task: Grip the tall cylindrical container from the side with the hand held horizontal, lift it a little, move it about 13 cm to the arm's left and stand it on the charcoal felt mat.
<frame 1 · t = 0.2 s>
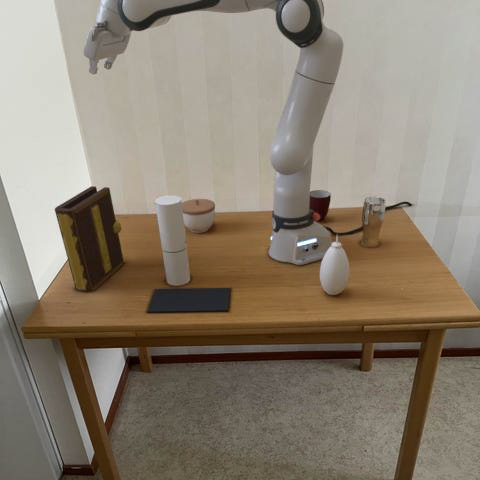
hand: (100, 70, 141), 54 cm above the table, tool tilted 30°, fingers open, 8 cm apart
beer glass: (369, 244, 163), on the table
cylindrical container: (178, 280, 148), on the table
felt mat: (190, 300, 138), on the table
mug: (314, 220, 181), on the table
book: (102, 274, 153), on the table
lidded bowl: (199, 229, 179), on the table
white bulb air blower: (332, 293, 138), on the table
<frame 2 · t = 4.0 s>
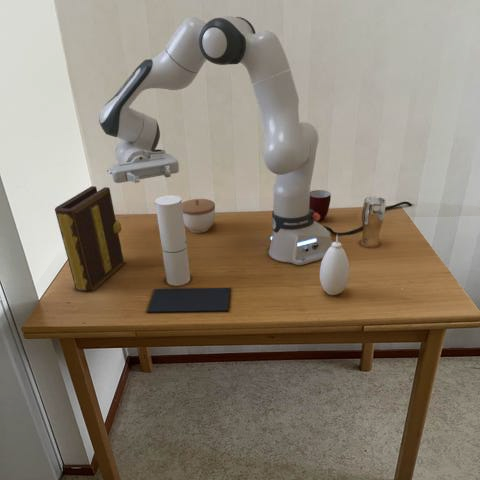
hand: (152, 177, 141), 28 cm above the table, tool horizontal, fingers open, 8 cm apart
nothing on the table moved.
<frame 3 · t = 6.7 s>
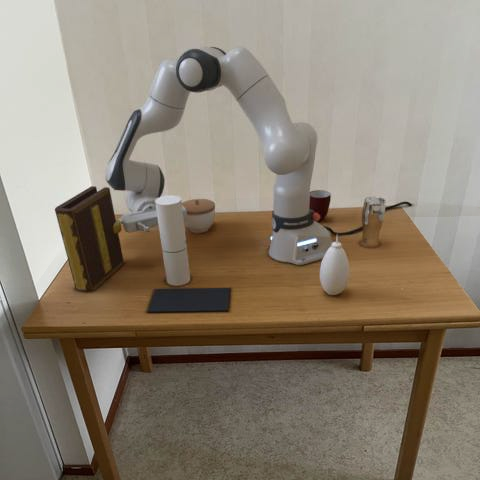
hand: (162, 226, 148), 14 cm above the table, tool horizontal, fingers open, 8 cm apart
nothing on the table moved.
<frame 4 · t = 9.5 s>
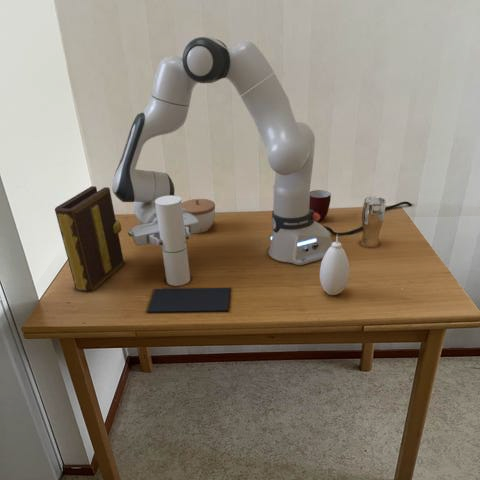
hand: (174, 239, 140), 14 cm above the table, tool horizontal, fingers closed on cylindrical container, 7 cm apart
cylindrical container: (178, 280, 148), on the table, touching gripper
everything else where it was.
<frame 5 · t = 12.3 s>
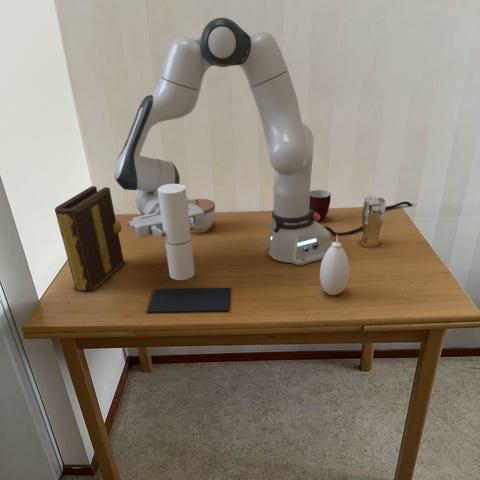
hand: (178, 231, 131), 19 cm above the table, tool horizontal, fingers closed on cylindrical container, 7 cm apart
cylindrical container: (182, 274, 140), point 5 cm above the table, touching gripper
everything else where it was.
when the fingers open (14 cm above the table, at t = 15.4 s): cylindrical container stays where it is, resting on felt mat.
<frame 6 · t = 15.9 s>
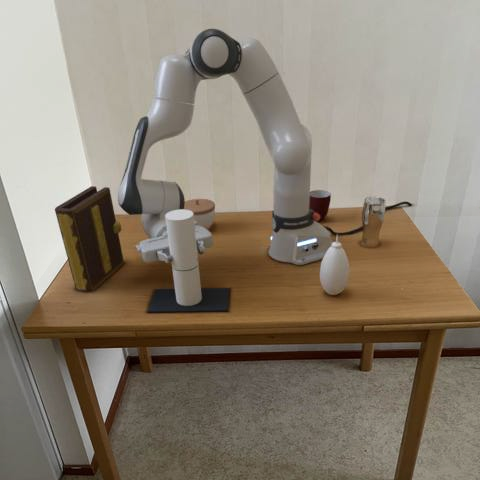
hand: (186, 255, 129), 14 cm above the table, tool horizontal, fingers open, 8 cm apart
cylindrical container: (189, 299, 138), resting on felt mat
everything else where it was.
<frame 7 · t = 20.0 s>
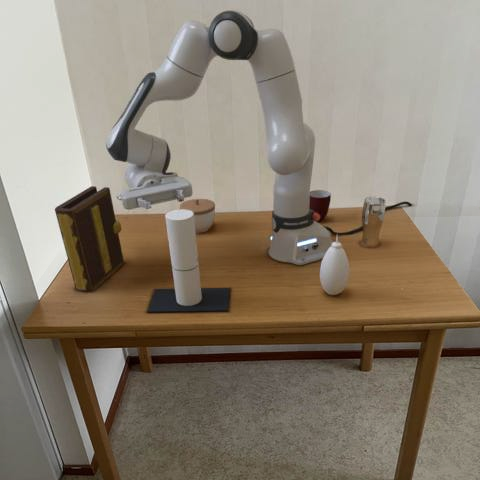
hand: (165, 202, 133), 25 cm above the table, tool horizontal, fingers open, 8 cm apart
nothing on the table moved.
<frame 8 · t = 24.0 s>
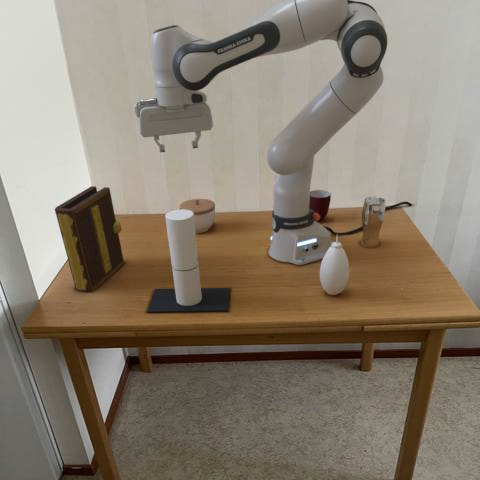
hand: (178, 149, 138), 35 cm above the table, tool pointing down, fingers open, 8 cm apart
nothing on the table moved.
at the end: cylindrical container inside the target area (0.2 cm from its centre), resting on felt mat; cylindrical container tilted 0°; the gripper is holding nothing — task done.
